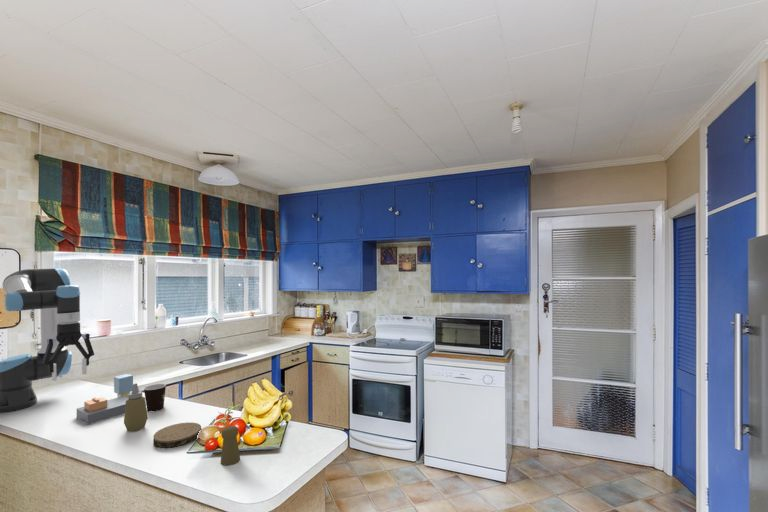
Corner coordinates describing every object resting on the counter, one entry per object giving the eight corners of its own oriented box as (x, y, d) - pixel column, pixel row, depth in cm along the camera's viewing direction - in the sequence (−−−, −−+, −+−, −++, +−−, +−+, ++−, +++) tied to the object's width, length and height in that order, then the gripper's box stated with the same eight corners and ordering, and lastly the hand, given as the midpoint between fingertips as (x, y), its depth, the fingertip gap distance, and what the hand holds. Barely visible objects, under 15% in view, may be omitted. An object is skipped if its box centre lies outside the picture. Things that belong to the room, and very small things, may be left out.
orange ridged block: (89, 411, 165) (89, 402, 165) (84, 408, 168) (84, 399, 168) (107, 406, 170) (107, 398, 170) (101, 403, 174) (101, 395, 174)
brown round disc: (168, 453, 135) (168, 444, 135) (144, 443, 144) (144, 434, 144) (210, 435, 149) (210, 427, 149) (186, 426, 157) (186, 419, 157)
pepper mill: (223, 456, 131) (223, 424, 131) (242, 455, 132) (241, 422, 132) (217, 466, 125) (217, 431, 125) (237, 465, 126) (236, 430, 126)
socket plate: (87, 424, 161) (87, 414, 161) (76, 417, 169) (76, 408, 169) (135, 410, 176) (135, 401, 176) (123, 404, 183) (123, 396, 183)
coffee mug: (156, 413, 172) (155, 390, 172) (139, 412, 173) (139, 389, 174) (175, 403, 183) (175, 382, 183) (159, 402, 185) (159, 381, 185)
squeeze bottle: (152, 426, 158) (151, 381, 158) (134, 434, 150) (133, 387, 150) (137, 423, 161) (137, 380, 161) (118, 432, 153) (118, 386, 153)
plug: (114, 400, 189) (113, 376, 190) (128, 396, 194) (127, 373, 194) (119, 402, 186) (119, 378, 186) (133, 399, 191) (132, 375, 191)
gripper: (36, 327, 151) (37, 385, 151) (103, 319, 169) (104, 371, 169) (31, 326, 155) (32, 382, 155) (96, 318, 173) (97, 369, 173)
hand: (69, 376), depth 162 cm, fingers open, 9 cm apart
